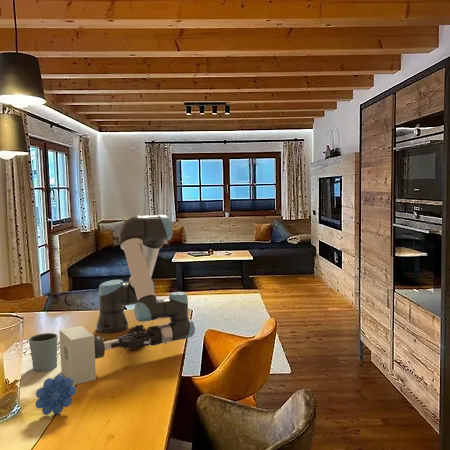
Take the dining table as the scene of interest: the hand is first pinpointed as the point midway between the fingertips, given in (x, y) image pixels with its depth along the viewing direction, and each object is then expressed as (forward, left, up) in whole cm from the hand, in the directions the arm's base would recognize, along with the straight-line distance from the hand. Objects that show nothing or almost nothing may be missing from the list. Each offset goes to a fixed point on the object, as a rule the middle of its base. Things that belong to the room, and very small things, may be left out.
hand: (101, 346), depth 172 cm
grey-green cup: (-16, -17, -9) cm, 25 cm away
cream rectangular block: (0, -9, -9) cm, 13 cm away
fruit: (-18, +21, -9) cm, 29 cm away
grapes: (+25, -23, -9) cm, 35 cm away
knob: (0, -6, -4) cm, 7 cm away
